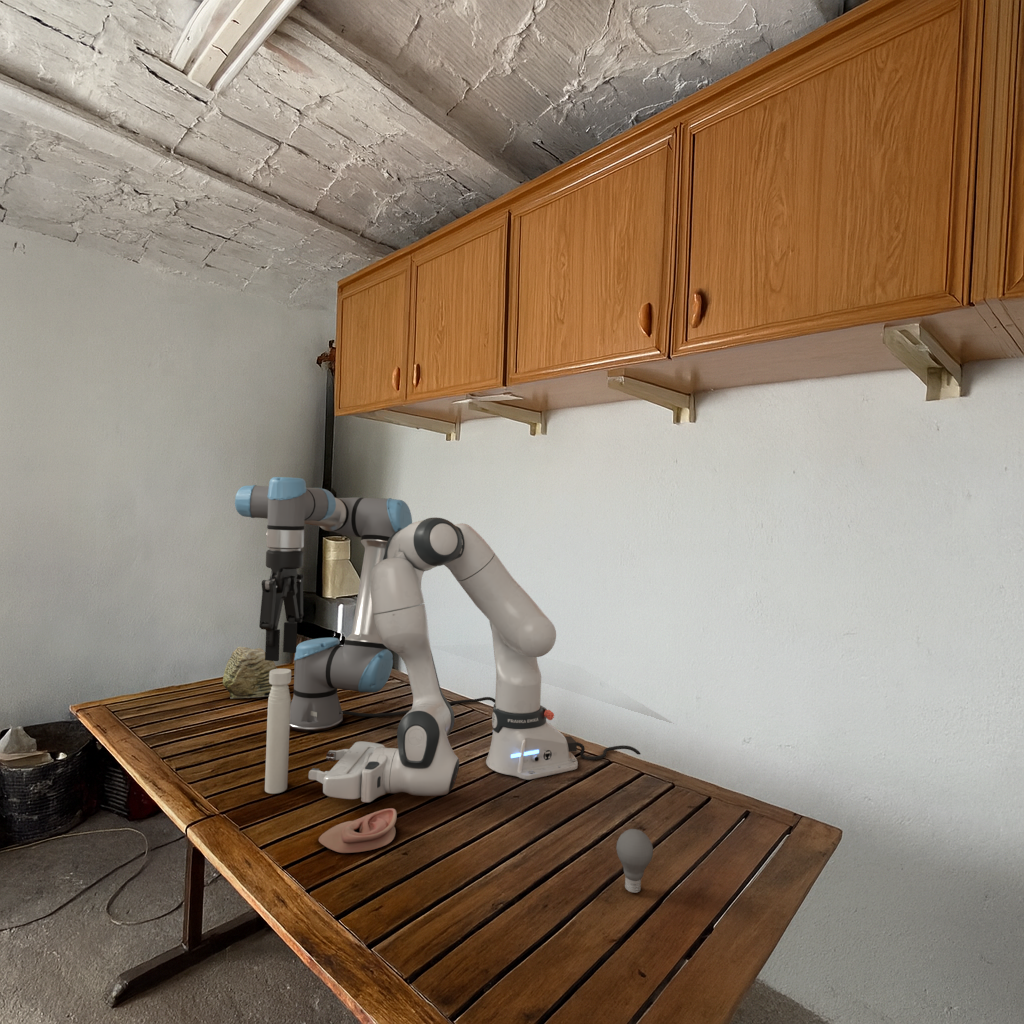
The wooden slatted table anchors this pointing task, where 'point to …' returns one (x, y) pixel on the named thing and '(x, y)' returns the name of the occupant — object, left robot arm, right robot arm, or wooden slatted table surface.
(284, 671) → the cap
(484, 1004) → the wooden slatted table surface
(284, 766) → the bottle
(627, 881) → the light bulb
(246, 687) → the fossil
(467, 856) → the wooden slatted table surface
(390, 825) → the anatomical model
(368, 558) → the left robot arm
